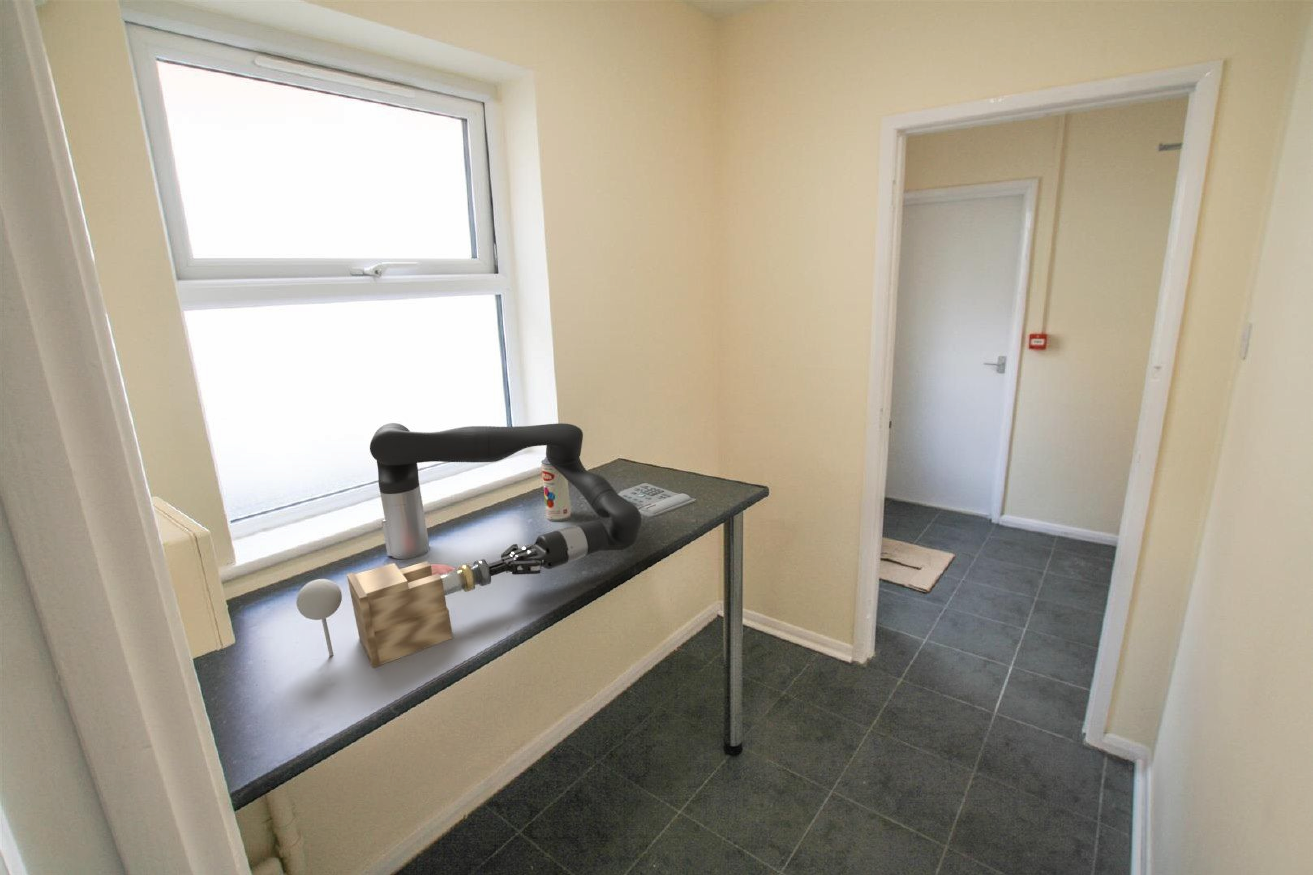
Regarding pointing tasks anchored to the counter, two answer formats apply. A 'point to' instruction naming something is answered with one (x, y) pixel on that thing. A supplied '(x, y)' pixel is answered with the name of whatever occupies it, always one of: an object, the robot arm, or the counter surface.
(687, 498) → the office telephone
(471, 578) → the shaft
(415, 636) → the bearing block
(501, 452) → the robot arm
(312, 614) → the lollipop
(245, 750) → the counter surface
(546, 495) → the aerosol can
